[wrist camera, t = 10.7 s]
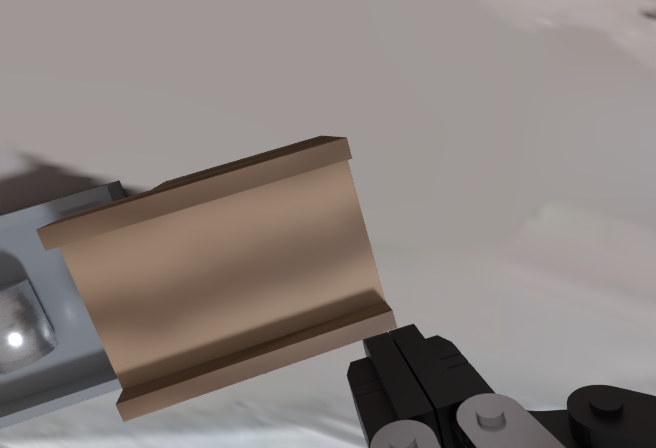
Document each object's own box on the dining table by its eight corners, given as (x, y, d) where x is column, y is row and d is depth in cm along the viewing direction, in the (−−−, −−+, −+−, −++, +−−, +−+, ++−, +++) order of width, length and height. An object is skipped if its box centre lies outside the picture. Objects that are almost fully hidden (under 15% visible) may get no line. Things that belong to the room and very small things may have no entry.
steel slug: (-31, 308, 27) (37, 278, 30) (-51, 307, 30) (14, 279, 33) (7, 378, 28) (68, 342, 32) (-15, 371, 31) (44, 339, 34)
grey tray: (-144, 257, 31) (-185, 270, 28) (119, 180, 32) (106, 185, 30) (-48, 426, 34) (-76, 454, 31) (186, 349, 36) (180, 368, 33)
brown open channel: (97, 201, 33) (36, 229, 23) (321, 135, 34) (346, 137, 25) (156, 346, 35) (123, 421, 26) (361, 278, 37) (397, 327, 28)
